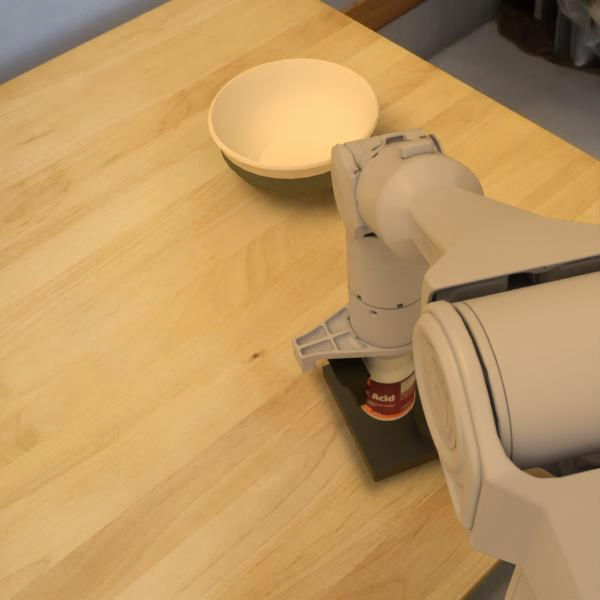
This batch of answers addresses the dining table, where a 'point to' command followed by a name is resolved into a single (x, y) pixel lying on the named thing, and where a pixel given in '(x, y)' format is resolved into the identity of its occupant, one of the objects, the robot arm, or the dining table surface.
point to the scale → (385, 433)
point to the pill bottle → (390, 386)
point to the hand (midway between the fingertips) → (387, 385)
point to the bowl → (291, 122)
